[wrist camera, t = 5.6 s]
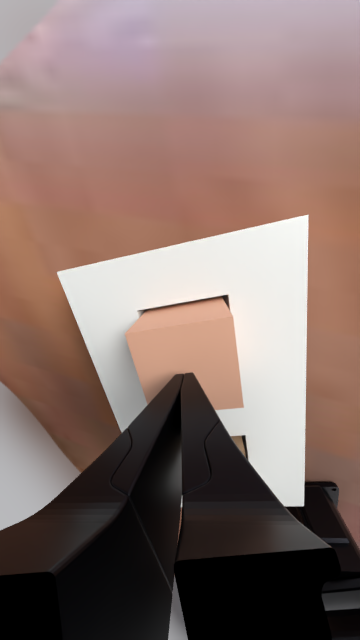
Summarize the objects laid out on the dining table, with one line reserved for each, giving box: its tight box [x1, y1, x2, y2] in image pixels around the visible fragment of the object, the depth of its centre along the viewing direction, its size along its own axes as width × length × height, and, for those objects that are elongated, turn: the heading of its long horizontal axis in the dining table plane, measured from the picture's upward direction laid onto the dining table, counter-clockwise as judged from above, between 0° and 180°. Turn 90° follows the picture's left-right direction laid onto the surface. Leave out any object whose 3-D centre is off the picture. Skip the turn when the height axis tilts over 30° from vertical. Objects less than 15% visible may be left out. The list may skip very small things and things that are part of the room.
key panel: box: [57, 215, 308, 507], centre depth 15 cm, size 23×14×4 cm, turn 12°
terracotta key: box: [125, 297, 244, 410], centre depth 11 cm, size 5×5×4 cm
